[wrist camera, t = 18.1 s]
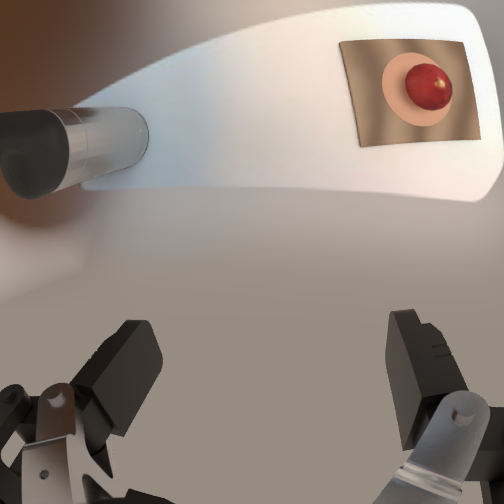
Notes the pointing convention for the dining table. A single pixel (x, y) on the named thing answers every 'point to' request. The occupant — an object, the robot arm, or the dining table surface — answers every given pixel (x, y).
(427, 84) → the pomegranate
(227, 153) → the dining table surface
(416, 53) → the serving board
